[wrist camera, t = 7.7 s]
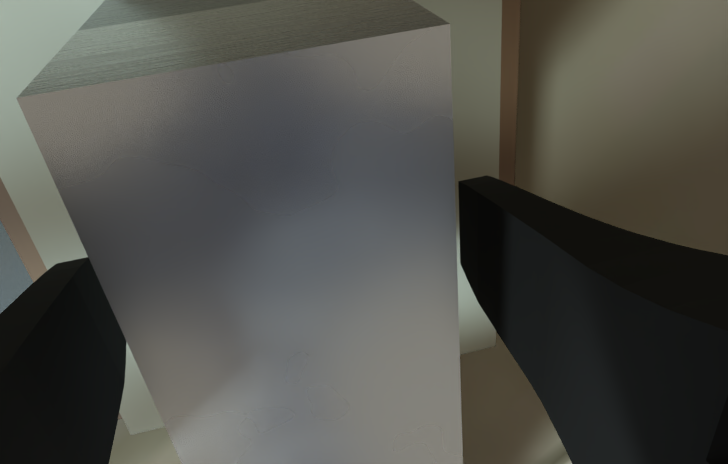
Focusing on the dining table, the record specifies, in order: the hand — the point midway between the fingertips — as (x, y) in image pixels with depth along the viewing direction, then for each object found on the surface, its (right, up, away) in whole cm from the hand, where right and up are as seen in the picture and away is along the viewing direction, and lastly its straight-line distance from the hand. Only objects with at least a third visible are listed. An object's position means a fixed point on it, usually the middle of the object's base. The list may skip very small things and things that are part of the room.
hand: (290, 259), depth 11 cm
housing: (-1, +2, +2) cm, 3 cm away
